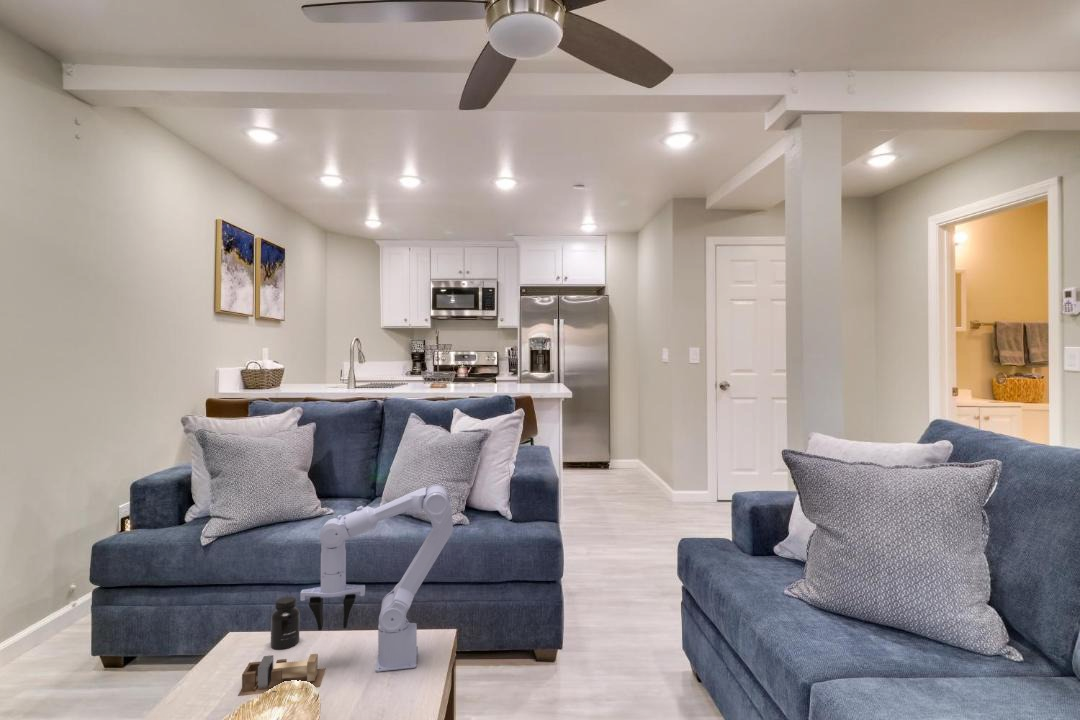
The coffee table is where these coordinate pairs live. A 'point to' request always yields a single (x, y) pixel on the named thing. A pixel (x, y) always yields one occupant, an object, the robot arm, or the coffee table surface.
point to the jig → (276, 678)
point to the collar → (265, 672)
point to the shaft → (300, 668)
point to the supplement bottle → (285, 624)
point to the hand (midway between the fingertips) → (333, 627)
